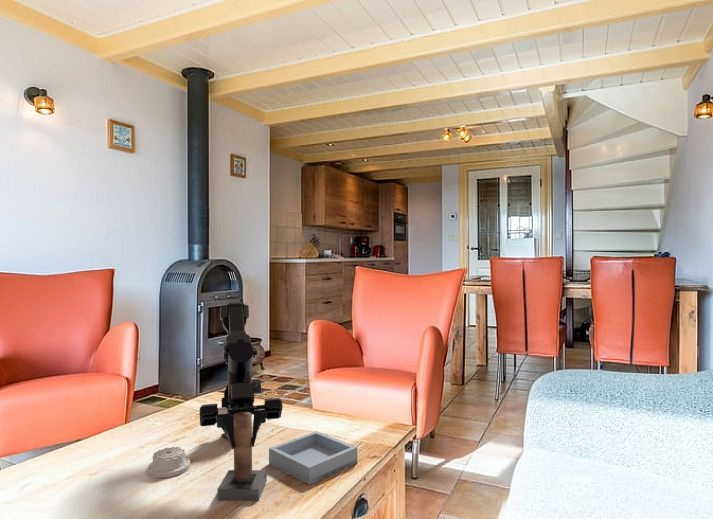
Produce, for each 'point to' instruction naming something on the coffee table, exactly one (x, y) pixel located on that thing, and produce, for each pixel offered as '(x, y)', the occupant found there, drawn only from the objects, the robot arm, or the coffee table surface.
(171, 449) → the mechanical component
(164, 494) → the coffee table surface
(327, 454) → the tray
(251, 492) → the gray square socket plate
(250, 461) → the pin
